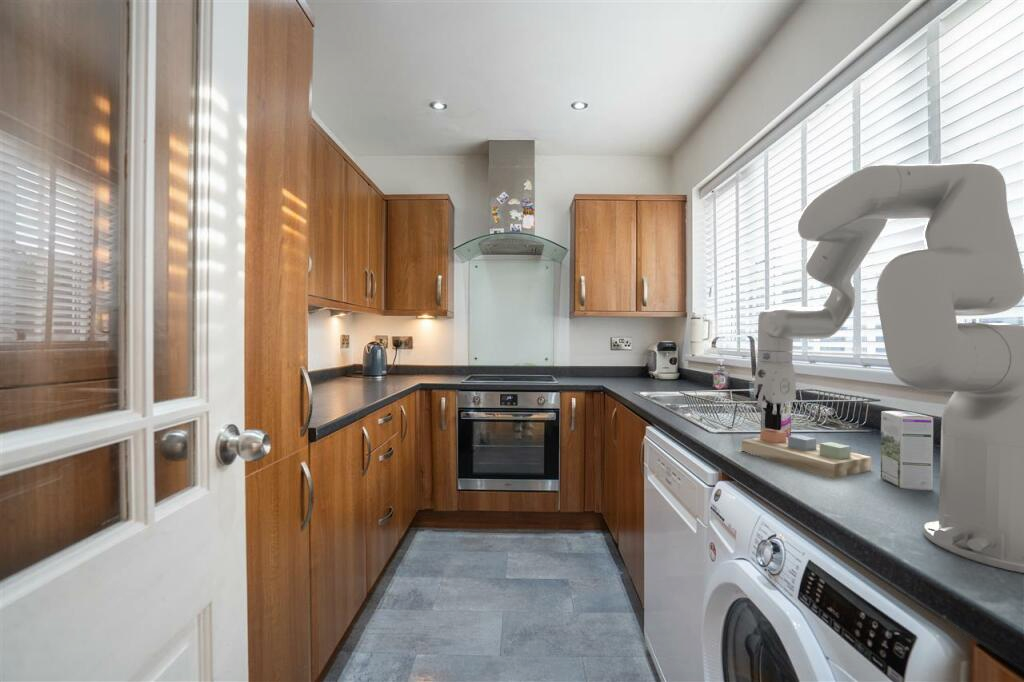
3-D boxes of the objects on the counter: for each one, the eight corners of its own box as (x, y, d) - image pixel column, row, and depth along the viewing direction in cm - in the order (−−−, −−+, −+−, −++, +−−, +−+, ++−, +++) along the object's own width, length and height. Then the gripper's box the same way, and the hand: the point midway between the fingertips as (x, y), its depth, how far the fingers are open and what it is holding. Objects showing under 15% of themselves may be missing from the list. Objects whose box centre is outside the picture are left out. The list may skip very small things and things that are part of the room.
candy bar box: (771, 435, 120) (772, 381, 120) (791, 438, 117) (792, 383, 116) (759, 441, 113) (760, 384, 113) (779, 445, 109) (780, 385, 109)
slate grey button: (805, 452, 93) (805, 440, 93) (788, 448, 97) (788, 436, 97) (816, 451, 95) (816, 438, 95) (798, 446, 98) (798, 434, 98)
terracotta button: (775, 445, 100) (775, 433, 100) (760, 441, 103) (760, 429, 103) (786, 443, 101) (786, 432, 101) (770, 440, 105) (770, 428, 105)
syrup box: (934, 491, 77) (936, 416, 77) (898, 488, 78) (900, 415, 78) (911, 480, 83) (912, 411, 82) (878, 478, 84) (879, 409, 84)
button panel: (833, 478, 83) (833, 464, 83) (741, 451, 103) (741, 439, 103) (871, 470, 89) (871, 457, 89) (777, 446, 108) (777, 435, 108)
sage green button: (839, 461, 87) (840, 448, 87) (819, 456, 90) (819, 443, 90) (850, 459, 88) (850, 446, 88) (830, 454, 92) (830, 441, 92)
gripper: (769, 359, 96) (767, 434, 96) (808, 358, 102) (806, 429, 102) (740, 357, 103) (739, 428, 103) (779, 356, 108) (777, 423, 109)
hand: (772, 428), depth 103 cm, fingers closed
